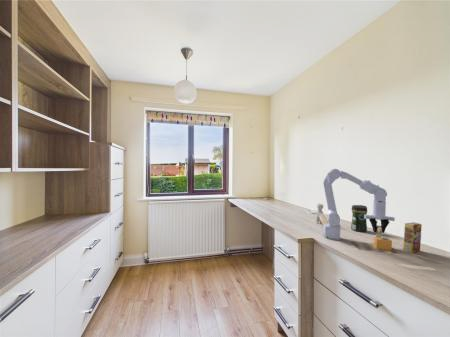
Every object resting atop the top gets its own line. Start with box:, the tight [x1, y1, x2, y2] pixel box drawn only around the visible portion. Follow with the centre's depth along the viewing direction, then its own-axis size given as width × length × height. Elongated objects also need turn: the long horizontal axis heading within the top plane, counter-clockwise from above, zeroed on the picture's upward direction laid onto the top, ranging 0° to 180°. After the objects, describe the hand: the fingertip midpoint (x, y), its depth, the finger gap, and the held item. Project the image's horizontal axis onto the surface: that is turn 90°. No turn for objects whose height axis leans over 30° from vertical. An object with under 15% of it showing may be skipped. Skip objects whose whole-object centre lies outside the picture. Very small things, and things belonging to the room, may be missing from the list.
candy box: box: [402, 222, 423, 254], centre depth 117 cm, size 9×4×15 cm, turn 115°
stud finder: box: [373, 236, 393, 250], centre depth 117 cm, size 7×4×5 cm, turn 76°
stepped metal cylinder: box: [375, 224, 383, 238], centre depth 121 cm, size 3×3×7 cm
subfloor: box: [349, 240, 402, 256], centre depth 118 cm, size 20×19×1 cm
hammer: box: [315, 203, 329, 227], centre depth 159 cm, size 16×5×30 cm
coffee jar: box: [350, 204, 368, 232], centre depth 155 cm, size 10×8×19 cm
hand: (378, 232), depth 121 cm, fingers closed on stepped metal cylinder, 3 cm apart
